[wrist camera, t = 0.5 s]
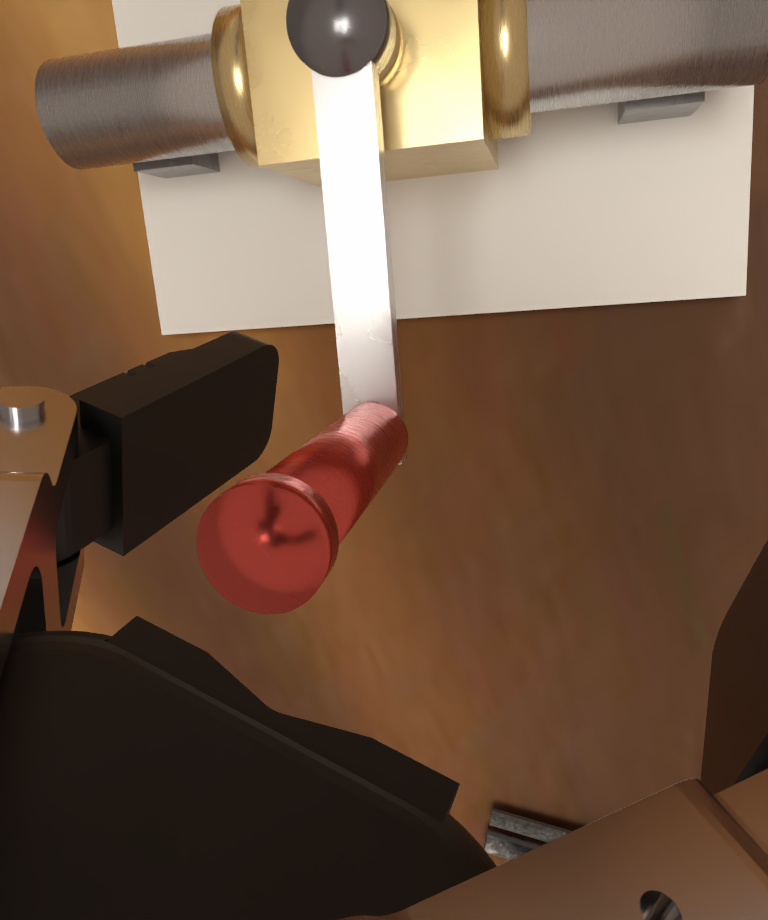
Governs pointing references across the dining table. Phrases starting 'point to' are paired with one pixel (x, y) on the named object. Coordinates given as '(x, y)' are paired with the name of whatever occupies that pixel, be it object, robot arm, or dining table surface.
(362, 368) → the lever
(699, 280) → the mounting board
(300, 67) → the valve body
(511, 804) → the dining table surface
